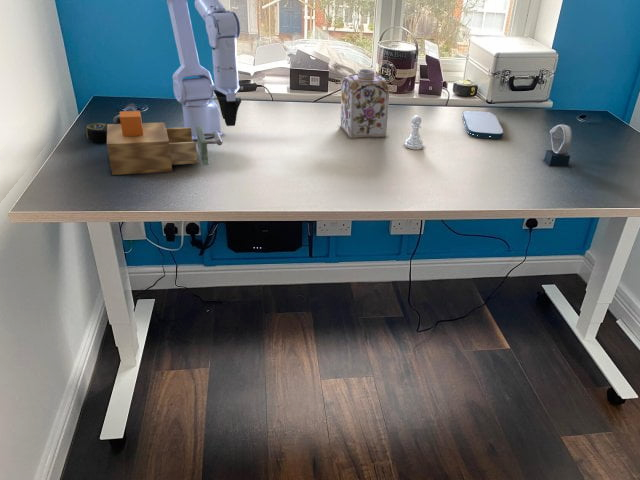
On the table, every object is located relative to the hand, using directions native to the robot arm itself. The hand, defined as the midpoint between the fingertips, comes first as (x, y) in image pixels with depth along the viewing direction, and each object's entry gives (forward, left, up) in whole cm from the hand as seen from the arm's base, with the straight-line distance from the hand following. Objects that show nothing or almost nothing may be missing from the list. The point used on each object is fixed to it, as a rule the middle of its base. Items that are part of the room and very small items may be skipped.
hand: (228, 122), depth 153 cm
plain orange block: (+21, -9, -2) cm, 23 cm away
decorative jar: (-45, +2, -10) cm, 46 cm away
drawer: (+10, -4, -8) cm, 14 cm away
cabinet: (+20, -9, -9) cm, 24 cm away
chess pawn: (-49, +20, -10) cm, 54 cm away
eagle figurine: (+12, -34, -10) cm, 37 cm away
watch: (-75, +52, -10) cm, 92 cm away
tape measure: (+21, -29, -10) cm, 37 cm away
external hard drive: (-82, +19, -10) cm, 84 cm away
